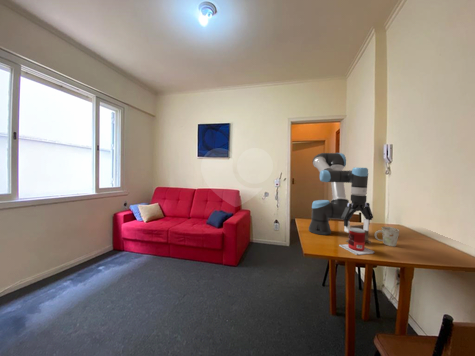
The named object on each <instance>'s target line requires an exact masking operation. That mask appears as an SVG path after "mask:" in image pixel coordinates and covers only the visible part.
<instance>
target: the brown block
mask: <svg viewBox="0 0 475 356" xmlns="http://www.w3.org/2000/svg"><path fill="white" fill-rule="evenodd" d="M363 226H364V224H355V225H350V228H360V229H363ZM369 231H370V230H369ZM369 231H366V230H365V243H367V244H371V243H372V241H371V240H369V233H370V232H369ZM348 241H349V239H346V240H345V242H346V243H348Z"/></svg>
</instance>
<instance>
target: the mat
mask: <svg viewBox="0 0 475 356" xmlns="http://www.w3.org/2000/svg"><path fill="white" fill-rule="evenodd" d="M338 246H339V247H340V248H342V249H344V250H346V251H348V252H350V253H351V254H354V255H356V256H361V255H362V256H363V255H370V254H375V251H374V250H373V249H370V248H367V247H366V246H365V247H364V250H363V251H356V250H352V249H350V248H349V246H348V243H347V244H339V245H338Z"/></svg>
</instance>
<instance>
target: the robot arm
mask: <svg viewBox="0 0 475 356" xmlns="http://www.w3.org/2000/svg"><path fill="white" fill-rule="evenodd" d="M312 165H313V166H314V168H316V169H317V171H318V172H319V181H320V182H322V183H330V186H331V194H332V199H331V200H328V199H318V200H317V199H316V200H313V202H312V204H311V221H310V223H309V226H308V231H309V232H310V233H312V234H315V235H320V236H328V235H331V233H332V229H331V225H330V223H329V222H330V219H333V220H343V226H344V230H343V231H344V232H345V233H347V234H349V228H350V224H351V222H350V221H351V218H352V216H353V215H354V214H355V213H357V212H361V214H362V215H363V225H364V226H363V230H366V231H370V222H371V221H372V220H373V219H374V215H373V212H372V209H371V207H370V202H367V199H368V197H367V196H368V195H367V193H368V192H367V191H368V180H369V178H368V177H369V169H368V167H353V168H352V169H351V170H344V168H345V167H346V165H347V158H346V156H345V154H344V153H342V152H321V153H318V154H317V155H315V156H314V157H313V158H312ZM346 183H347V184H351V186H350V200H349V199H348V198H347V197H346V196H347V195H346V188H345V184H346ZM349 201H350V202H351V203H350V202H349Z"/></svg>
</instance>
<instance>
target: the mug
mask: <svg viewBox="0 0 475 356" xmlns="http://www.w3.org/2000/svg"><path fill="white" fill-rule="evenodd" d="M379 233H382V239H379V238H378V236H377V235H378V234H379ZM399 236H400V229H399V228H396V227H391V226H381V229H379V230H376V231H375V232H374V238H375V239H376V240H377V241H379V242H383V244H384V245H385V246H389V247H396V246H397V243H398V238H399Z"/></svg>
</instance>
